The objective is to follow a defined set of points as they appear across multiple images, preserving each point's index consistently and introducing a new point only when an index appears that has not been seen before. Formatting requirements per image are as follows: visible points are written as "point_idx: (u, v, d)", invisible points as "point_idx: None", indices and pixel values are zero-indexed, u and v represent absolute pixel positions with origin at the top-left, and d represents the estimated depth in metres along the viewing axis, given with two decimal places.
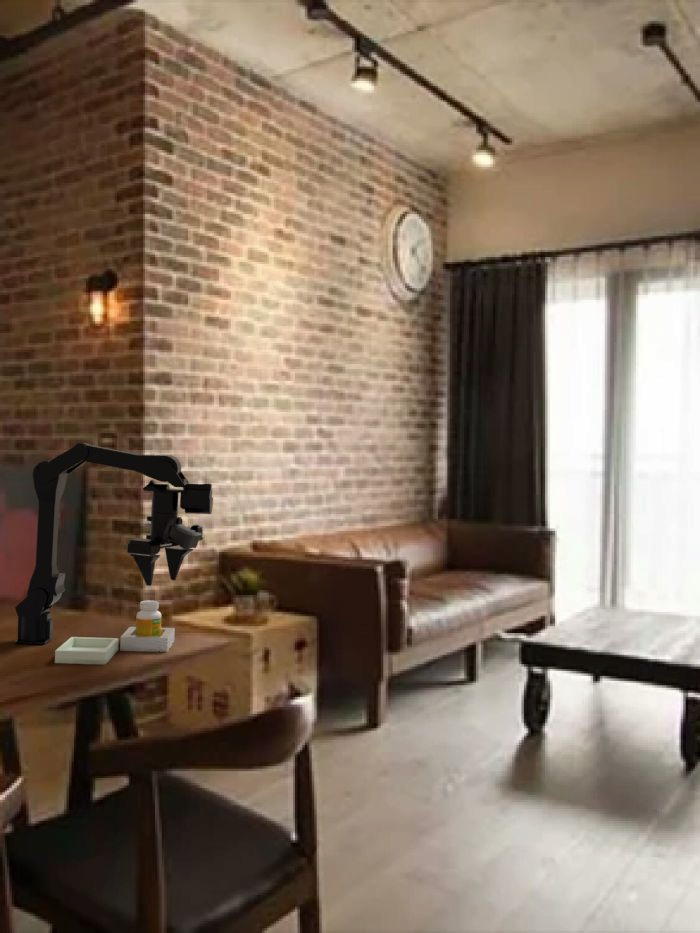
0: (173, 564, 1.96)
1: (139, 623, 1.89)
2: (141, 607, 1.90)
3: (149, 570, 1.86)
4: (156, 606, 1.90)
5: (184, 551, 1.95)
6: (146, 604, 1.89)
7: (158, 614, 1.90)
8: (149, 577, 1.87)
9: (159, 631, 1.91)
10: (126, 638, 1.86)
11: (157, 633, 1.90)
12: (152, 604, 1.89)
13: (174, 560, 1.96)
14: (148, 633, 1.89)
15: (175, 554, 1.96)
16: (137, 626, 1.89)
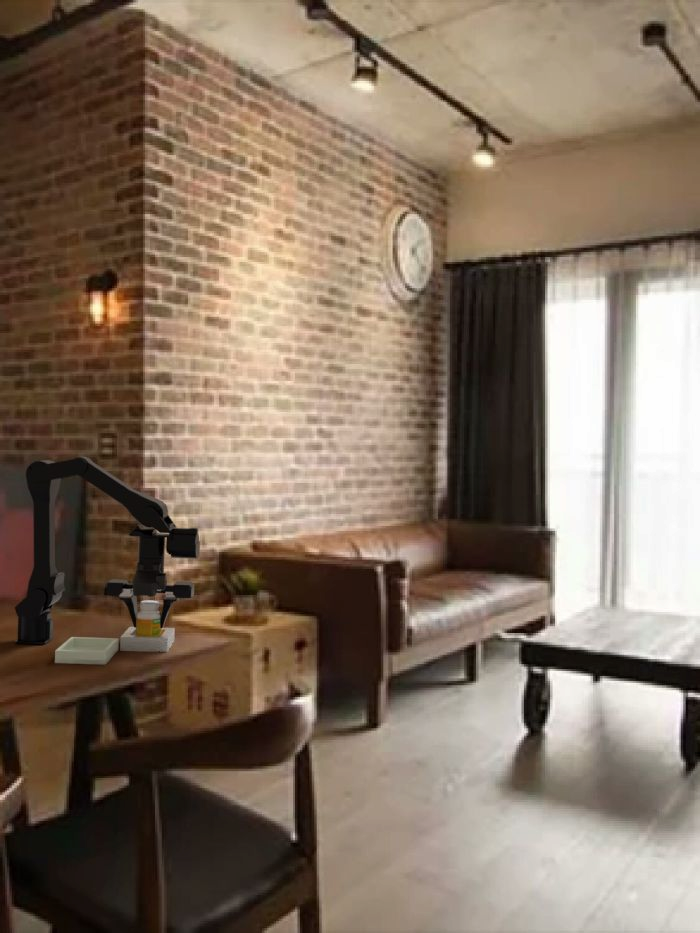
0: None
1: (139, 622, 1.89)
2: (141, 607, 1.90)
3: None
4: (156, 606, 1.90)
5: (163, 600, 1.89)
6: (146, 604, 1.89)
7: (158, 614, 1.90)
8: None
9: (159, 631, 1.91)
10: (126, 638, 1.86)
11: (157, 633, 1.90)
12: (152, 604, 1.89)
13: None
14: (148, 633, 1.89)
15: None
16: (137, 626, 1.89)
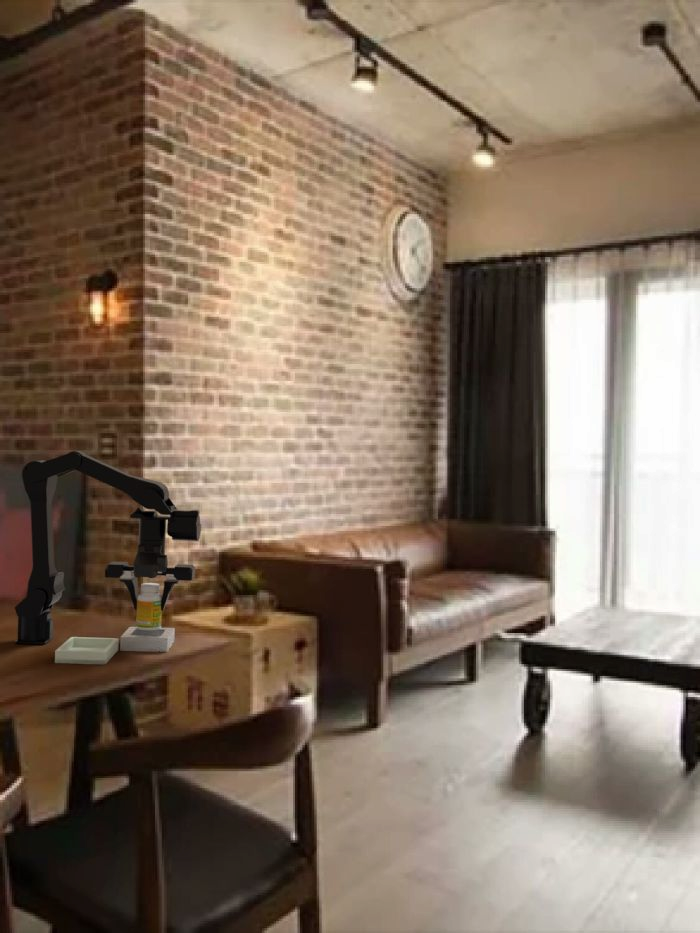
0: None
1: (140, 605, 1.89)
2: (142, 589, 1.90)
3: None
4: (157, 588, 1.90)
5: (164, 582, 1.89)
6: (147, 586, 1.89)
7: (159, 596, 1.90)
8: None
9: (160, 613, 1.90)
10: (126, 638, 1.86)
11: (158, 615, 1.90)
12: (153, 586, 1.89)
13: None
14: (149, 615, 1.89)
15: None
16: (138, 608, 1.89)
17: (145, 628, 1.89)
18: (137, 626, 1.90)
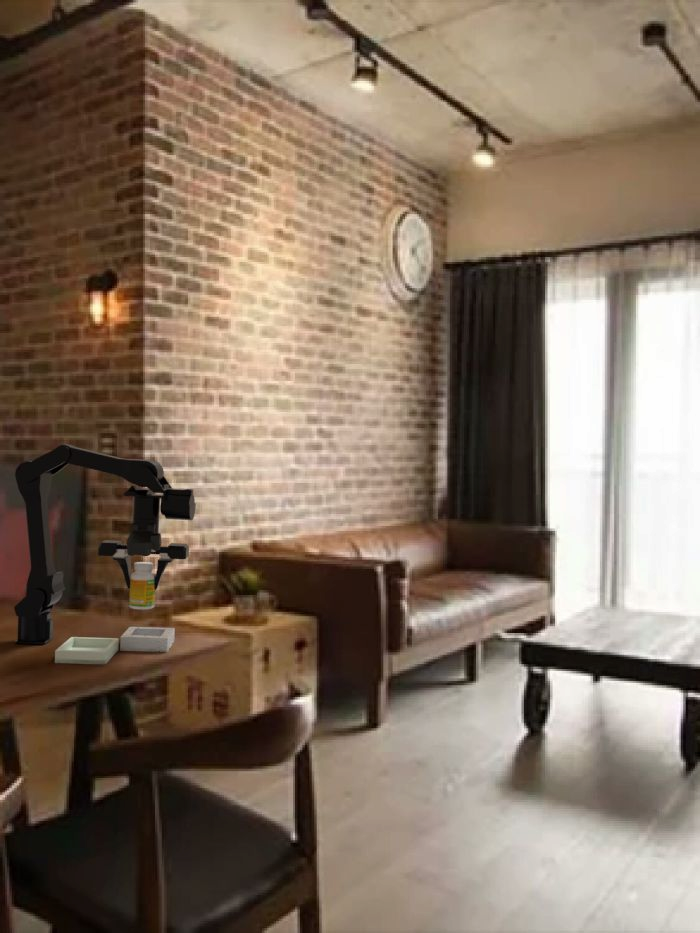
0: None
1: (133, 583, 1.87)
2: (135, 568, 1.88)
3: None
4: (150, 567, 1.89)
5: None
6: (140, 565, 1.88)
7: (153, 575, 1.89)
8: None
9: (153, 592, 1.89)
10: (126, 638, 1.86)
11: (151, 594, 1.88)
12: (146, 565, 1.88)
13: None
14: (142, 594, 1.87)
15: None
16: (131, 587, 1.88)
17: (138, 607, 1.87)
18: (130, 605, 1.88)
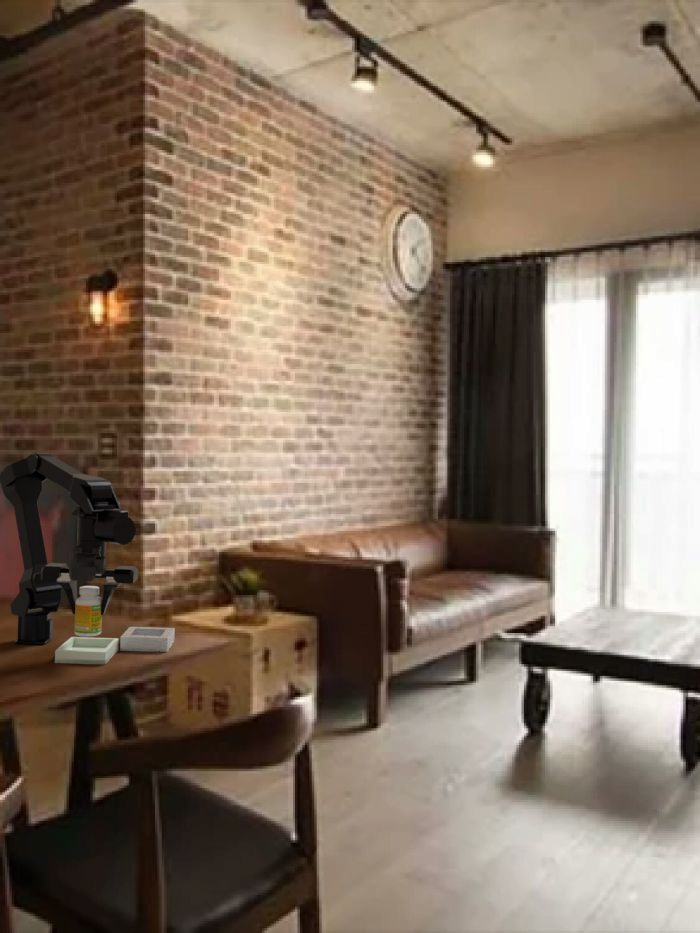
0: None
1: (78, 609, 1.78)
2: (80, 593, 1.78)
3: None
4: (96, 592, 1.79)
5: None
6: (85, 589, 1.78)
7: (99, 600, 1.79)
8: None
9: (99, 618, 1.79)
10: (126, 638, 1.86)
11: (97, 620, 1.79)
12: (92, 589, 1.78)
13: None
14: (87, 620, 1.77)
15: None
16: (76, 613, 1.78)
17: (83, 634, 1.77)
18: (75, 632, 1.79)
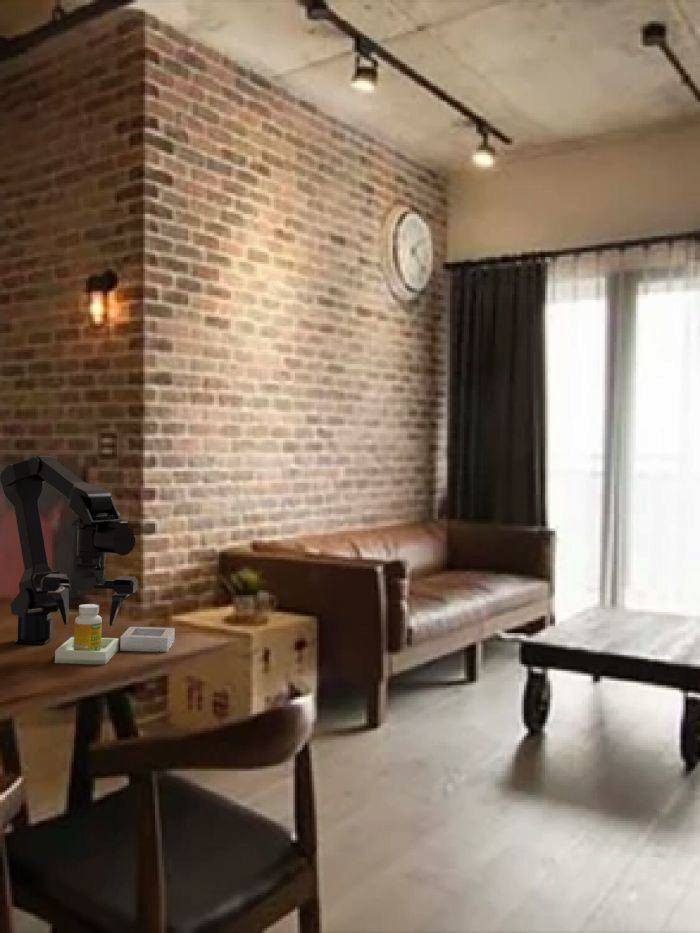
0: None
1: (77, 628, 1.78)
2: (80, 611, 1.79)
3: None
4: (96, 610, 1.79)
5: None
6: (85, 608, 1.78)
7: (98, 619, 1.79)
8: None
9: (99, 637, 1.79)
10: (126, 638, 1.86)
11: (96, 639, 1.79)
12: (91, 608, 1.78)
13: None
14: (86, 639, 1.78)
15: None
16: (75, 631, 1.78)
17: None
18: None
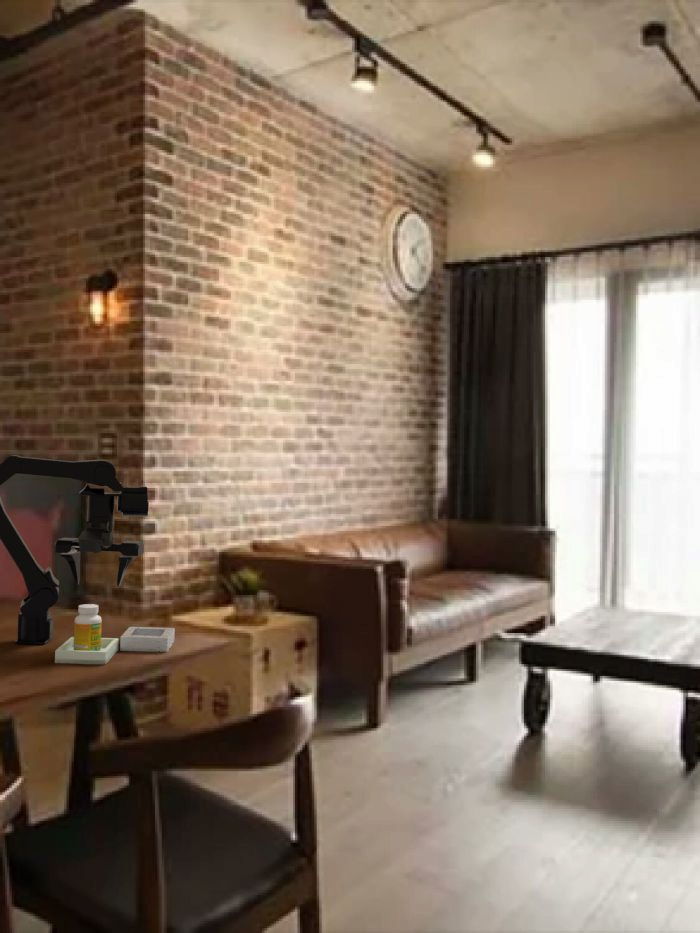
0: None
1: (77, 628, 1.78)
2: (79, 611, 1.79)
3: None
4: (95, 610, 1.79)
5: None
6: (84, 608, 1.78)
7: (98, 619, 1.79)
8: None
9: (99, 637, 1.79)
10: (126, 638, 1.86)
11: (96, 639, 1.79)
12: (91, 608, 1.78)
13: None
14: (86, 639, 1.78)
15: None
16: (75, 631, 1.78)
17: None
18: None
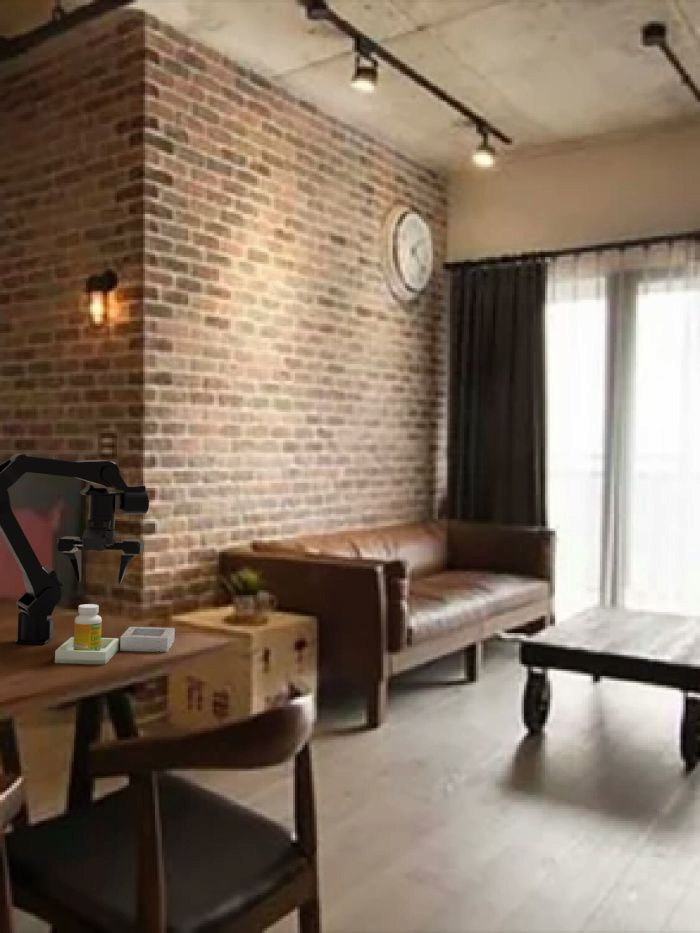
0: None
1: (77, 628, 1.78)
2: (79, 611, 1.79)
3: None
4: (95, 610, 1.79)
5: None
6: (84, 608, 1.78)
7: (98, 619, 1.79)
8: None
9: (99, 637, 1.79)
10: (126, 638, 1.86)
11: (96, 639, 1.79)
12: (91, 608, 1.78)
13: None
14: (86, 639, 1.78)
15: None
16: (75, 631, 1.78)
17: None
18: None
